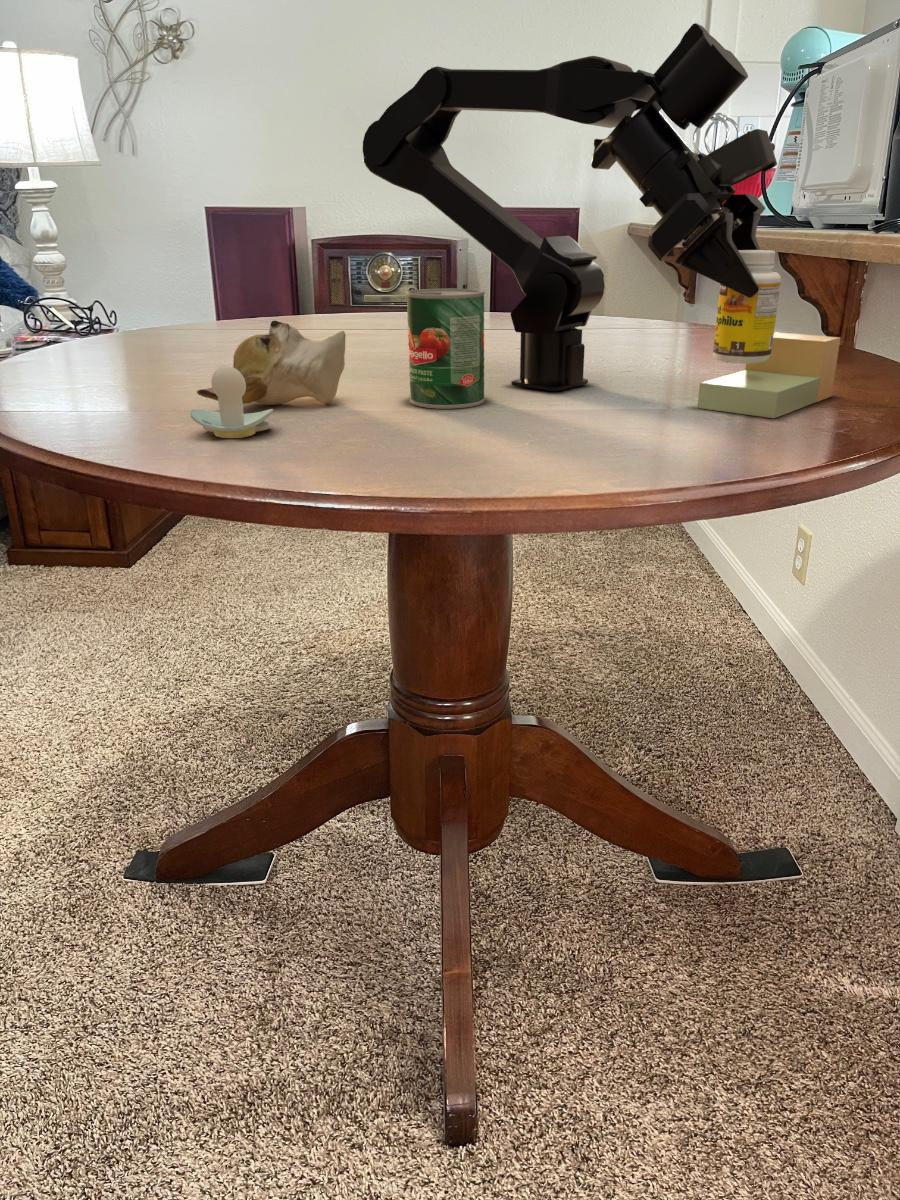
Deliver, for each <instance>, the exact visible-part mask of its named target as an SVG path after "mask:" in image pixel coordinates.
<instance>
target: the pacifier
mask: <svg viewBox="0 0 900 1200" xmlns="http://www.w3.org/2000/svg"><path fill="white" fill-rule="evenodd" d="M210 384H211V388H212V389H213V391H214V393H215V394H216V395H217V396H218V401H217V402H218V411H214V410H207V409H199V408H198V409H196V408H195V409H190V410H189V414H190V415H189V416H190V418H191V420H192V421H194V422H195V423H196V424H197V425H199V426H201V427H202V428H203V429H204V430H205V431H207V432H210V433H211V432H212V433H213V435H214V436H215V437H217V438H221V439H241V438H247V437H251V436H253V435H255V434H256V432H262V431H266V430H269V429H271V428H273V426H274V423H273V422H271V420H267V419H269V418H270V416H271V415H272V414H273V412H274V409H273V408H270V409H266V410H262V411H256V412H250V413H244V404H243V403H242V396H243V395H244V393H245V390H246V383H245V379H244V377H243V376H242V374H241V373H240V372H239V371H238V370H237V369H235V368H234V367H233V366H230V365H221V366H219V367H217V368H216V369H214V371H213V373H212V375H211V380H210Z"/></svg>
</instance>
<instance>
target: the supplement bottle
mask: <svg viewBox="0 0 900 1200" xmlns="http://www.w3.org/2000/svg"><path fill="white" fill-rule="evenodd" d="M738 251H739V253H740V255H741V256H742V258H743V260H744V262H745V263H746V265H747V267H748V269H749V270H750V272H751V274H752V276H753V278H754V280H755V281H756V283H757V285H758V287H759V291H758V292H757V293H756V294H755V295H754V296H753V297H751V298H749V297H747V296H745V295H743V294H740V293H738V292H736V291H734V290H732V289H730V288H728V287H726V286H724V285H722V284H720V283H719V293H718V302H717V312H716V321H715V330H714V339H713V350H712V355H713V358H714V359H716V360H717V361H720V362H725V363H730V364H744V365H746V364H750V363H761V362H764V361H766V360H768V359H769V358H770V355H771V349H772V342H773V335H774V332H775V327H776V319H777V314H778V313H777V311H778V305H779V299H780V298H779V297H780V291H781V290H780V289H781V283H782V277H781V275H780V274H779V272H776V271H772V269H774V268H775V261H776V251H775V250H769V249H760V250H738Z"/></svg>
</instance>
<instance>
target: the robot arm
mask: <svg viewBox="0 0 900 1200" xmlns="http://www.w3.org/2000/svg"><path fill="white" fill-rule="evenodd" d="M748 78H749V75H748V72H747V70H746V69H745V67H744V66H743V65H742V63H741V62H740V61H739V59H738V57H736V56H735V54H734V53H733V52H732V51H731V50H728V49H726V48H725V47H724V46H723V45H722V44H721V43H720V42H719V41H718V40H717V39H716V38H715V37H713V35H711V34H710V33H709V32H708V30H707V29H706V28H705V27H704V25H701V24H699V23H692V24H691V25H690V26H689V28H688V29H687V30H686V32H684V34H683V36H682V38H681V40H680V41H679V43H678V44H677V46H676V47H675V48H674V49H673V50H672V51H671V53H670V54H669V55H668V56H667V57H666V59H665V60H664V61H663V62H662V64H661V65H660V66H659V67H658V68H657V69H656V71H655V72H654V73H651V72H650V71H649V72H648V71H645V70H642V69H638V70H636V71H634V70H633V68H632V67H631V66H629V65H628V64H624V63H622V62H618V61H616V60H612V59H609V58H605V57H602V56H597V55H589V56H585V57H580V58H576V59H570V60H566V61H562V62H560V63H556V64H555V65H551V66H550V67H546V68H541V69H460V68H459V69H457V68H456V69H454V68H448V67H443V66H438V65H437V66H432V67H431V68H430V69H427V70H426V71H425V72H424V73H423V74H422V75H421V76H420V78H419V79H418V80H417V82H416V83H415V84H414V85H413V87H412V88H410V89H409V90H408V91H406V92H405V93H403V95H402V96H400V97H399V98H398V99H397V100H394V102H393V103H391V104H390V105H389V106H387V108H386V109H385V111H384V112H383V113H382V115H381V116H380V117H379V118H378V119H377V120H375V121H373V122H372V123H370V125H369V126H368V127H367V128H366V131H365V132H364V136H363V139H362V155H363V159H362V161H363V163H364V165H365V167H366V168H367V170H368V171H369V172H370V173H372V174H373V175H375V176H376V177H378V178H380V179H382V180H383V181H386V182H388V183H389V184H391V185H393V186H395V187H399V188H401V189H404V190H406V191H409V192H412V193H414V194H417V195H419V196H421V197H423V198H424V199H425V200H426V201H428V202H429V203H430V204H432V205H433V206H434V207H435V208H436V209H437V210H439V211H440V212H441V213H442V214H444V215H445V216H446V217H447V218H448V219H450V220H451V221H452V222H454V223H455V224H456V225H457V226H458V227H460V229H462V230H463V231H464V232H465V233H467V234H468V235H469V236H470V237H471V238H472V239H474V240H475V241H476V242H478V243H479V244H480V245H481V246H482V247H484V248H485V249H486V250H487V251H488V252H489V253H491V254H492V255H494V256H495V258H497V259H498V260H500V262H502V263H503V264H504V265H506V266H507V267H508V268H509V269H510V270H511V271H512V273H513V274H514V277H515V279H516V281H517V284H518V285H519V287H520V289H521V292H522V293H523V294H524V295H525V296H524V297H523V298H522V300H521V301H519V303H518V304H517V305H516V306H515V307H514V308H513V310H511V312H510V318H511V322H512V325H513V328H514V329H513V330H514V332H515V333H520V348H519V349H520V350H519V351H520V352H519V353H520V354H519V360H520V361H519V379H514V380H511V381H510V385H511V386H514V387H521V388H528V389H535V390H541V391H542V390H543V391H548V392H549V391H550V392H559V391H563V390H568V389H571V388H575V387H580V386H584V385H588V384H589V379H587V378H584V368H585V350H586V349H585V344H584V343H583V329H580V328H578V327H581V328H582V327H583V328H584V327H586V326H587V324H588V321H589V319H590V317H591V314H592V311H593V310H595V309H596V307H598V305H599V304H600V303H601V302H602V301H601V300H602V298H603V297H604V293H605V286H606V285H605V274H604V273H603V270H602V268H601V267H600V266H599V265H598V264H597V263H595V262H594V261H596V260H597V259H598V256H597V255H596V254H592V253H589V252H587V251H586V250H584V248H582V247H581V246H580V245H579V244H578V242H577V241H576V240H575V239H573V238H572V237H571V236H570V235H560V236H557V235H556V236H545V237H543V238H542V237H540V236H539V235H538V234H536V232H534V231H533V230H532V229H530V227H528V226H526V225H525V224H524V223H523V222H522V221H520V220H519V219H518V218H517V217H516V216H514V215H513V214H512V213H510V211H508V210H507V209H506V208H504V207H503V206H502V205H500V204H499V203H498V202H497V201H495V200H494V199H493V198H492V197H491V196H489V194H487V193H486V192H484V191H483V190H482V189H481V188H479V187H478V186H477V185H476V184H475V183H473V182H472V181H471V180H469V179H468V178H467V177H466V176H465V175H463V174H462V173H461V172H460V171H458V170H457V169H456V168H455V167H453V165H452V163H451V162H450V159H449V158H448V155H447V153H446V151H445V148H444V147H443V145H444V143H445V142H446V141H447V139H449V135H450V133H451V130H452V128H453V126H454V123H455V120H456V119H457V117H458V115H459V114H460V113H461V112H462V111H482V112H484V111H485V112H507V113H508V112H513V113H542V114H547V115H549V116H553V117H556V118H560V119H564V120H567V121H572V122H575V123H578V124H583V125H589V126H595V127H601V128H608V129H613V128H614V129H613V130H612V131H611V132H610V133H609V134H608V136H607V137H605V138H601V139H600V138H595V139H594V140H593V141H592V145H593V153H592V156H591V164H590V167H591V168H592V169H593V170H610V169H611V168H612V167H613V166H614V164H615V163H617V164H618V165H619V166H620V168H621V170H623V172H624V173H625V174H626V175H627V176H628V178H629V179H630V180H631V181H632V183H633V184H634V185H635V187H636V188H637V189H638V190H639V191H640V193H641V194H642V196H640V198H639V201H640V202H641V203H642V204H643V206H644V207H645V208H653V209H654V210H655V212H657V214H658V215H659V216H660V217H661V218H660V219H659V220H658V221H656V223H655V224H654V225H653V226H652V227H651V228H650V229H649V230H648V240H647V242H648V243H647V247H648V248H649V249H650V250H651V252H652V253H653V254H654V256H655V257H656V258H657V259H658V261H659V262H666V261H670V260H672V259H673V258H674V257H675V252H674V248H675V247H676V246H677V245H679V244H680V243H681V242H682V241H683V242H682V243H681V247H683V249H684V251H683V252H682V253H681V254H679V256H678V257H677V258H676V259H675V261H674V263H675V264H676V265H677V266H681V267H683V268H685V269H687V270H690V271H692V272H695V273H697V274H700V275H701V276H704V278H705V277H706V278H707V279H710V280H711V281H714V282H716V283H718V284H719V285H720V284H722V285H724V286H726V287H728V288H730V289H732V290H734V291H736V292H738V293H740V294H743V295H745V296H747V297H749V298H751V297H753V296H754V295H755V294H756V293H757V292H758V291H759V287H758V285H757V283H756V281H755V280H754V278H753V276H752V274H751V272H750V270H749V269H748V267H747V265H746V263H745V262H744V260H743V258H742V256H741V255H740V253H739V251H738V250H761V246H760V245H759V243H758V239H757V237H756V236H757V230H758V225H759V221H760V219H761V214H763V212H764V211H765V210H766V207H765V206H764V204H763V203H762V202H761V200H760V199H759V198H758V197H757V196H756V195H755V194H751V193H749V194H748V193H747V194H746V193H741V194H739V193H737V194H735V193H736V192H737V190H736V188H735V187H734V186H735V185H737V184H740V183H742V182H743V181H745V180H747V179H749V178H751V177H753V176H755V175H757V174H759V173H761V172H767V171H770V170H771V169H774V168H775V167H776V166H777V165H778V162H777V160H776V159H777V158H776V155H775V150H776V145H775V143H774V142H773V141H771V139H770V136H769V133H768V130H764V129H760V128H755V129H752V130H750V131H747V132H746V133H744V134H742V135H740V136H738V137H736V138H735V139H733V140H731V141H729V142H727V143H726V144H723V145H722V146H720V147H717V148H716V149H715V150H712V151H711V152H710V153H708V154H705V153H704V152H693V150H692V149H691V148H690V147H689V146H688V144H687V143H686V142H685V141H684V139H683V138H682V137H681V136H680V135H679V133H678V132H677V131H676V129H675V128H674V127H673V126H672V125H671V123H669V121H668V120H667V118H665V116H664V115H663V114H662V112H661V110H662V111H663V112H664V114H665V115H666V116H667V117H668V119H669V120H670V121H672V123H674V124H675V126H677V127H678V128H680V129H681V130H683V131H685V130H687V129H688V127H690V125H692V126H694V127H696V128H698V129H702V128H703V127H704V126H705V125H706V124H707V122H709V120H710V119H711V118H712V117H713V116H714V115H715V114H716V113H717V112H718V111H719V110H720V108H722V106H723V105H724V104H725V103H726V102H727V101H728V100H729V98H730V97H731V96H732V95H733V94H734V93H735V92H736V91H737V90H738V89H739V87H741V85H742V84H743V83H744V82H745V81H746V80H747V79H748ZM635 112H636V113H635ZM634 113H635V114H634Z"/></svg>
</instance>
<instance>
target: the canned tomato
mask: <svg viewBox="0 0 900 1200" xmlns="http://www.w3.org/2000/svg"><path fill="white" fill-rule="evenodd" d="M485 293H486V292H485V290H482V289H477V288H476V289H475V288H447V287H446V288H423V289H413V290H408V291H406V292H405V294H406V302H407V303H406V306H407V309H406V312H407V332H408V333H407V338H408V342H407V343H408V344H407V345H408V363H409V367H408V369H409V370H408V371H409V393H410V394H409V395H410V397H409V402H410V403H411V405H414V406H416V407H420V408H427V409H439V410H440V409H442V410H448V409H449V410H451V409H465V408H466V409H467V408H472V407H477V406H480V405H482V404H484V403H485V401H486V400H485V399H486V398H485Z"/></svg>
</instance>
